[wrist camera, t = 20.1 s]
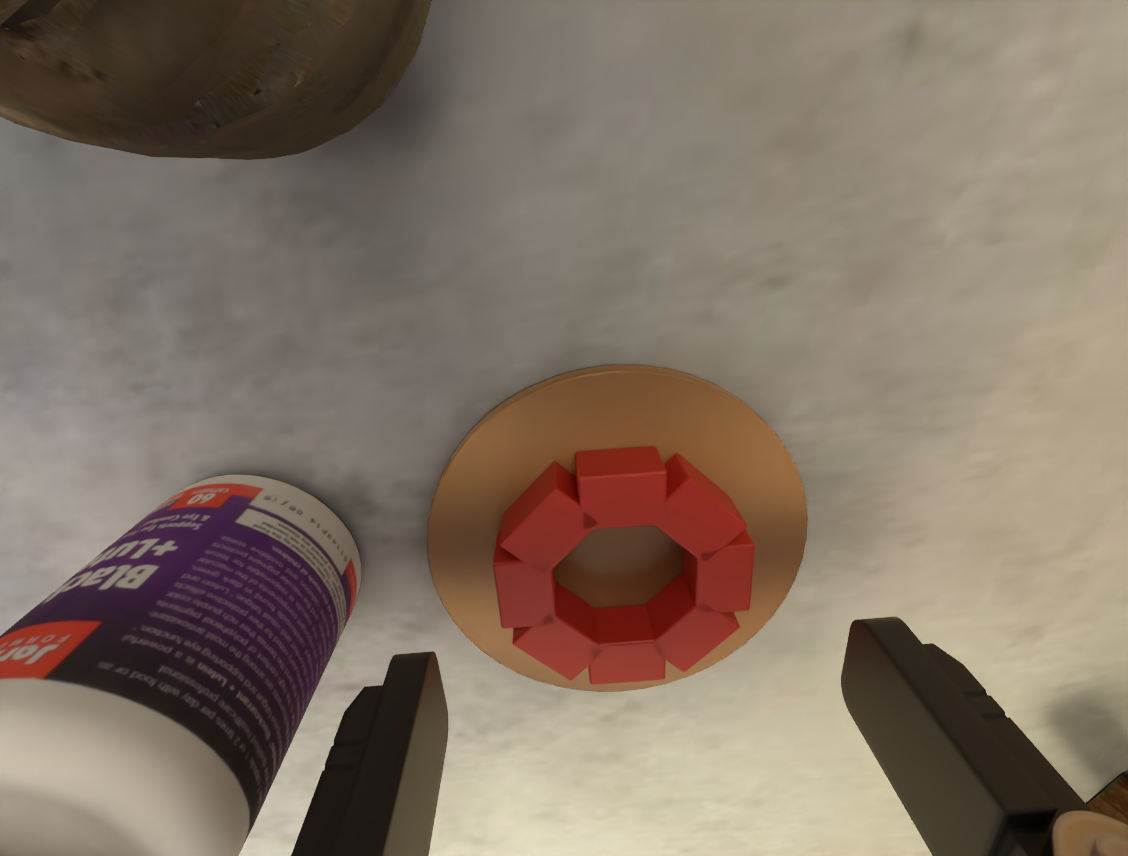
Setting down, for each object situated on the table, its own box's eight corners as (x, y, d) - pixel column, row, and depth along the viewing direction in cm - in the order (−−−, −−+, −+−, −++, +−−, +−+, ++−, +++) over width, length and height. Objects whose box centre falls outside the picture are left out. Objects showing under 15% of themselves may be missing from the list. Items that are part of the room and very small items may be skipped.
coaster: (399, 378, 13) (393, 385, 13) (820, 349, 13) (830, 355, 13) (457, 690, 17) (454, 704, 17) (782, 666, 17) (789, 679, 17)
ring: (486, 456, 14) (481, 484, 12) (743, 438, 14) (764, 464, 12) (512, 651, 16) (509, 692, 15) (729, 635, 16) (745, 675, 15)
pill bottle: (233, 426, 14) (-374, 889, 5) (406, 556, 15) (210, 1085, 6) (116, 557, 15) (-530, 1116, 6) (287, 664, 17) (-16, 1227, 8)
